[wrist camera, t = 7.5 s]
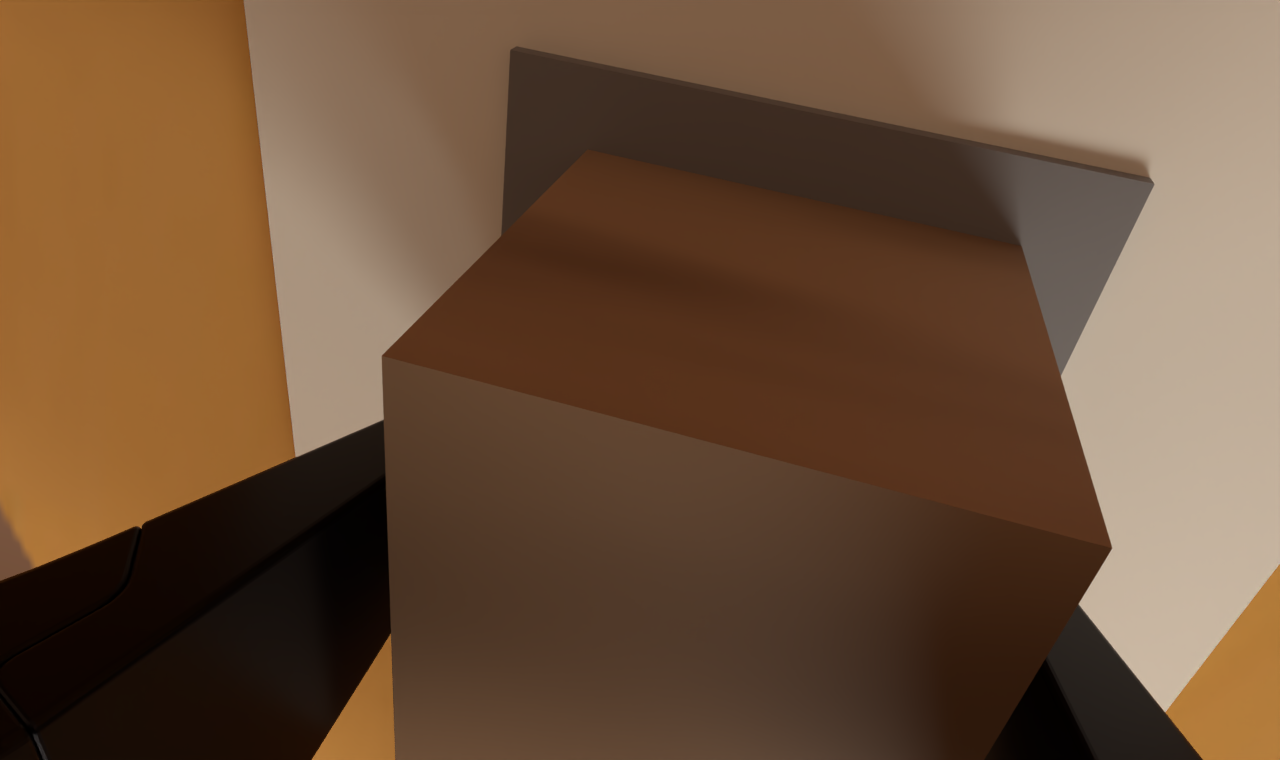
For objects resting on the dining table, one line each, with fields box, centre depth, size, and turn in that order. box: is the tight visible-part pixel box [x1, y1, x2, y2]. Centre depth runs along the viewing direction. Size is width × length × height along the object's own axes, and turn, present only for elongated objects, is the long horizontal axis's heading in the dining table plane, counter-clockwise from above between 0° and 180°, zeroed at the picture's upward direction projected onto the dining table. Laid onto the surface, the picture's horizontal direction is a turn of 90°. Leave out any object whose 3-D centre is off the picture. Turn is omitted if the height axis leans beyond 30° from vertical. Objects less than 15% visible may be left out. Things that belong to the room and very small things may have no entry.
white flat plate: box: [244, 0, 1280, 712], centre depth 12 cm, size 12×14×1 cm
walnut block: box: [382, 150, 1112, 760], centre depth 9 cm, size 5×5×5 cm
